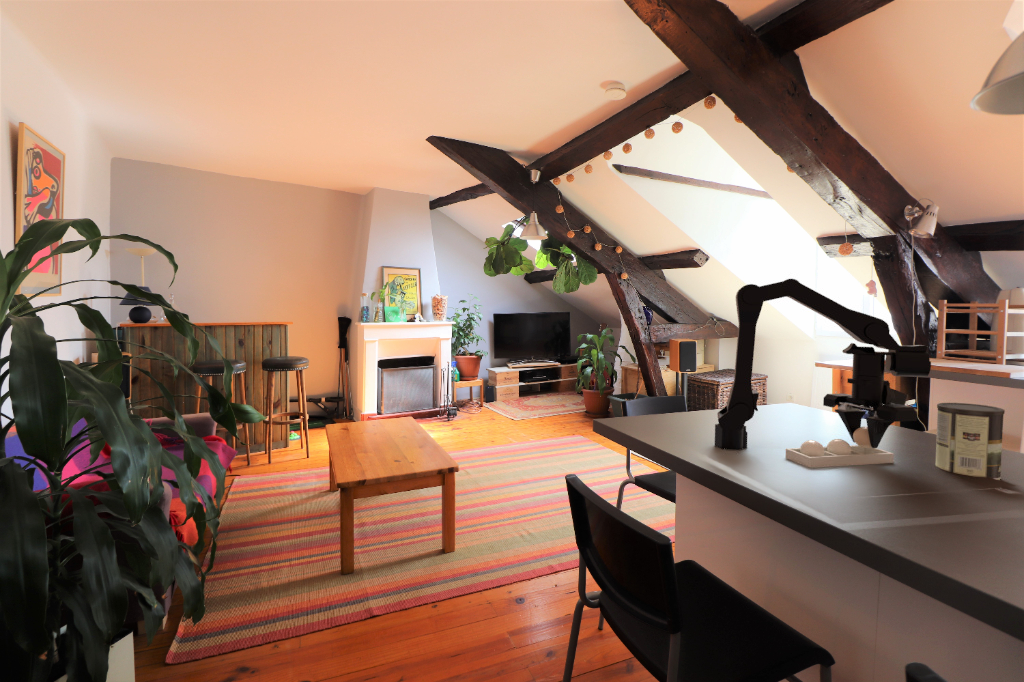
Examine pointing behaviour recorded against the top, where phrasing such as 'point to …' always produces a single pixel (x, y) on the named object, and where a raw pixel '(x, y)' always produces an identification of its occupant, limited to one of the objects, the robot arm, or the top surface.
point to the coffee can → (969, 439)
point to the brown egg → (862, 437)
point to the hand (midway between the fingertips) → (865, 445)
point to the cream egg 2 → (839, 447)
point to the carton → (842, 457)
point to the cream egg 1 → (812, 449)
